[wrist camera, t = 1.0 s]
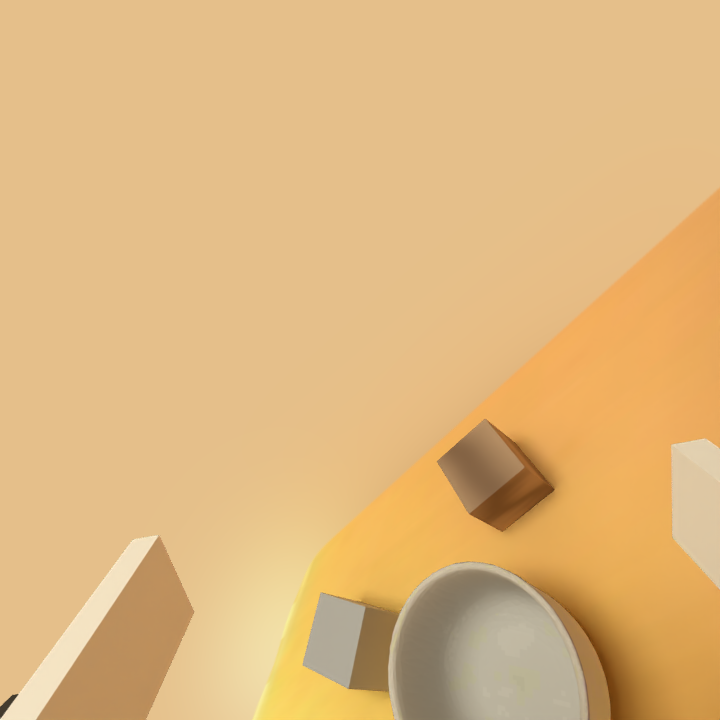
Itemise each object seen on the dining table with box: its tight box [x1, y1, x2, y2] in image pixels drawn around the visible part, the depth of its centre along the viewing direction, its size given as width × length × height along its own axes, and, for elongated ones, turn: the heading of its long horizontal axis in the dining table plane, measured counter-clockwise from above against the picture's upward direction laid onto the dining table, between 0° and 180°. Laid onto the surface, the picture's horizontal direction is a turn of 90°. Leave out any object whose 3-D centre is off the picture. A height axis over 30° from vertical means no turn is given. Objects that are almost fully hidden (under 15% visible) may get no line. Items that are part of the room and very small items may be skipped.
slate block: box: [303, 593, 399, 691], centre depth 34 cm, size 5×5×5 cm
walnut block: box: [437, 419, 554, 532], centre depth 33 cm, size 5×5×5 cm
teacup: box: [388, 562, 611, 720], centre depth 24 cm, size 14×11×8 cm
